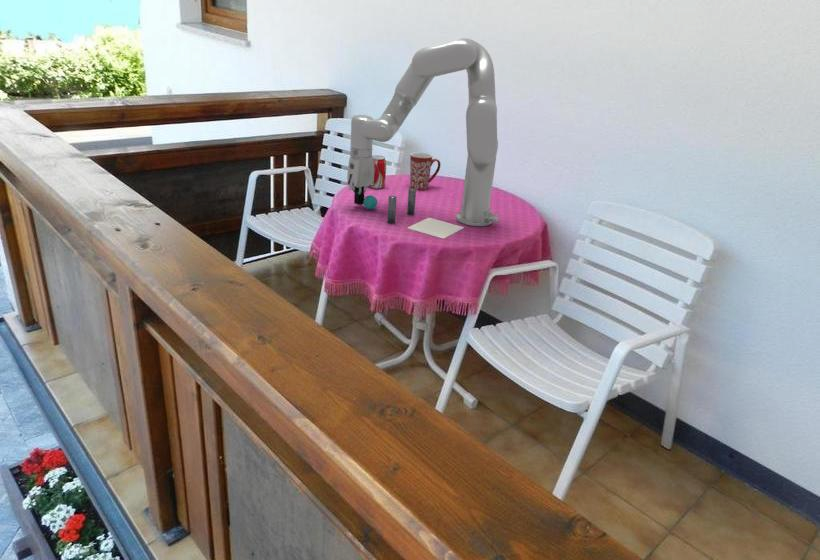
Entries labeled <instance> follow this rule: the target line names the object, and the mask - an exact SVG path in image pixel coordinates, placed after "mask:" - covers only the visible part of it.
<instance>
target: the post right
mask: <svg viewBox="0 0 820 560" xmlns="http://www.w3.org/2000/svg"><path fill="white" fill-rule="evenodd" d="M407 192H408V195H407V206H406V207H407V210H406V215H408V216H414V215H415V209H416V199H417V198H416V197H417V190H416V189H414V188H408V191H407Z"/></svg>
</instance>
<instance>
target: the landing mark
mask: <svg viewBox="0 0 820 560" xmlns="http://www.w3.org/2000/svg"><path fill="white" fill-rule="evenodd" d="M406 229H408V230H410V231H414V232H418V233H422V234H424V235H429V236H432V237H435V238H439V239H442V240H445V239H446V238H449V237H450V236H452V235H454V234H456V233H457V232H459V231H462V230H463V229H465V227H464V226H461V225H459V224H458V225H457V224H454V223H449V222H446V221H443V220H439V219H437V218H433V217H427V218H425V219H423V220H421V221H418V222H417V223H414V224H412V225H410V226H407V227H406Z"/></svg>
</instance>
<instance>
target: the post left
mask: <svg viewBox="0 0 820 560" xmlns="http://www.w3.org/2000/svg"><path fill="white" fill-rule="evenodd" d="M387 202H388V203H387V205H388V207H387V221H386V223H387V224H388V225H389V224H390V225H391V224H392V225H393V224H394V225H395V224H396V216H397V215H396V213H397V195H388V201H387Z"/></svg>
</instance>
